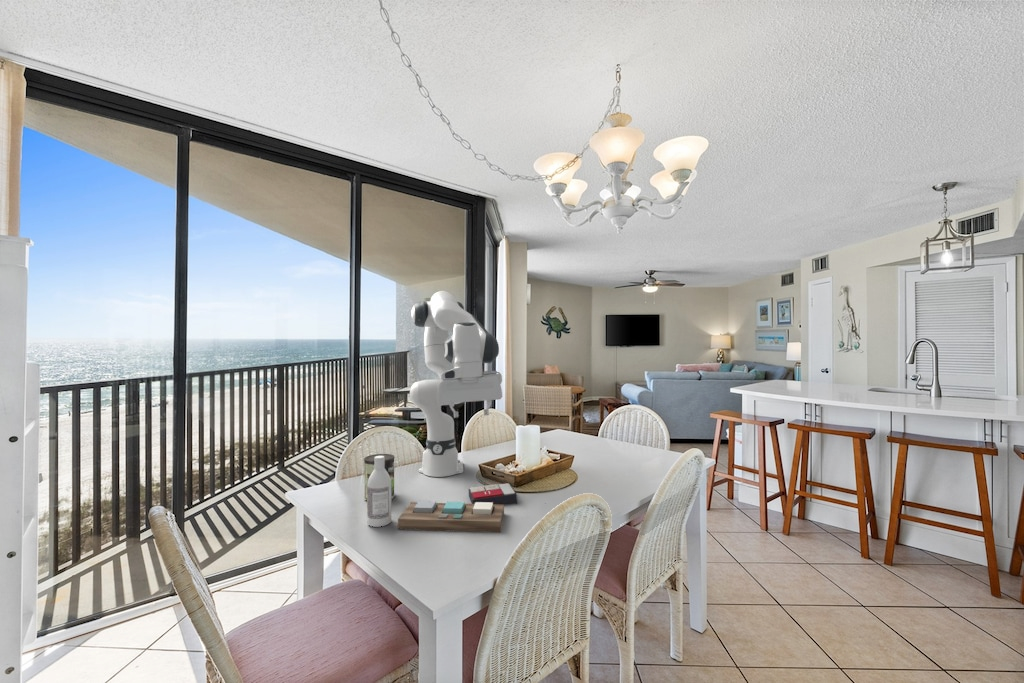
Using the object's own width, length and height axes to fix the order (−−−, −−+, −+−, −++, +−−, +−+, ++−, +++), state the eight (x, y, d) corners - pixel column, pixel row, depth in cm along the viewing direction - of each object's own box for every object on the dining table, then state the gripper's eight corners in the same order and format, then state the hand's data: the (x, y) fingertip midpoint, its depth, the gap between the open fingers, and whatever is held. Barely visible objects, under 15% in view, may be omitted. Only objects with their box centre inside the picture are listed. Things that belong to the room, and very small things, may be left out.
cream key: (475, 508, 136) (475, 502, 136) (493, 508, 135) (493, 502, 135) (472, 515, 130) (472, 508, 130) (491, 516, 130) (491, 509, 130)
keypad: (411, 511, 139) (411, 501, 139) (503, 513, 137) (503, 503, 137) (397, 529, 126) (397, 517, 126) (500, 531, 124) (500, 520, 124)
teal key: (447, 507, 136) (447, 501, 136) (464, 508, 136) (464, 501, 136) (443, 514, 131) (443, 508, 131) (461, 515, 130) (461, 508, 130)
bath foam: (374, 517, 135) (374, 453, 135) (395, 518, 134) (395, 454, 134) (363, 527, 128) (363, 459, 128) (385, 528, 127) (385, 460, 127)
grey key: (419, 507, 137) (419, 500, 137) (436, 507, 137) (436, 501, 137) (414, 514, 131) (414, 507, 131) (431, 514, 131) (431, 507, 131)
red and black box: (468, 486, 153) (509, 481, 157) (468, 498, 153) (509, 493, 157) (472, 497, 143) (516, 491, 146) (473, 510, 143) (517, 504, 146)
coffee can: (396, 491, 158) (396, 453, 158) (391, 502, 148) (391, 460, 148) (368, 492, 157) (368, 453, 157) (360, 503, 147) (360, 461, 147)
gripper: (500, 370, 141) (503, 413, 140) (437, 374, 139) (439, 418, 138) (502, 369, 135) (505, 414, 134) (435, 374, 133) (438, 419, 131)
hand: (471, 416), depth 136 cm, fingers open, 8 cm apart
